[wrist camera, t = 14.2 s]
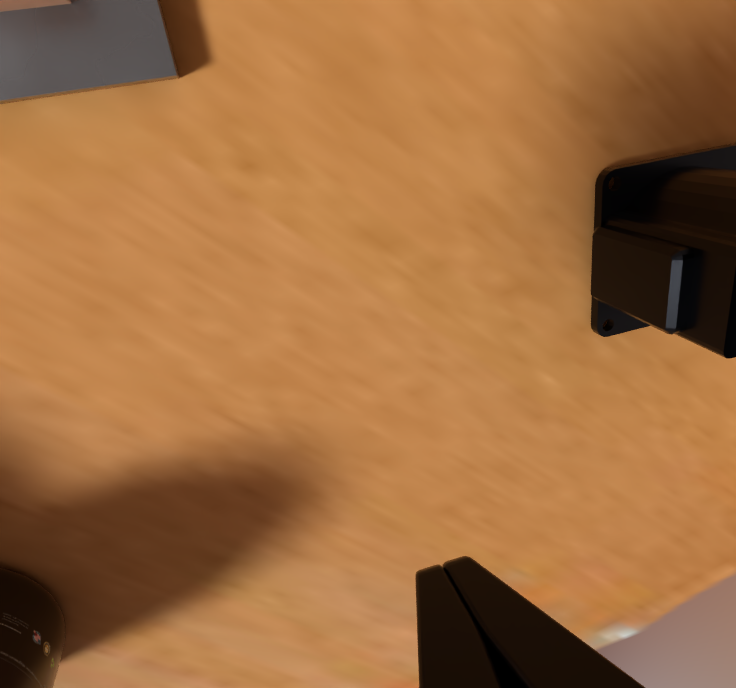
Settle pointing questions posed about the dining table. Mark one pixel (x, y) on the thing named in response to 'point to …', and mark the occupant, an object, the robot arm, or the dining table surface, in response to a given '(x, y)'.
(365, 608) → the dining table surface
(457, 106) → the dining table surface
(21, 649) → the supplement bottle
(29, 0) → the square ring with tab
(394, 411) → the dining table surface
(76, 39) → the base with metal peg
